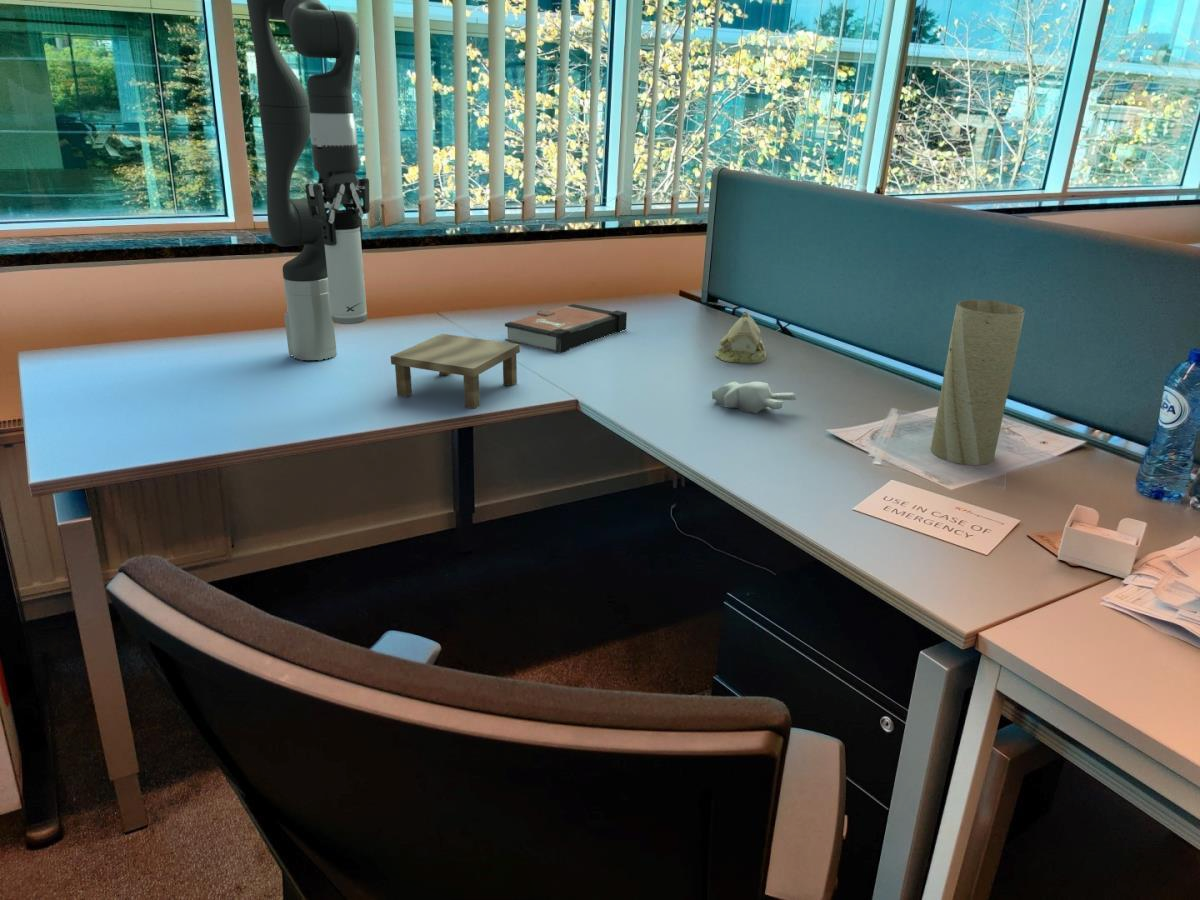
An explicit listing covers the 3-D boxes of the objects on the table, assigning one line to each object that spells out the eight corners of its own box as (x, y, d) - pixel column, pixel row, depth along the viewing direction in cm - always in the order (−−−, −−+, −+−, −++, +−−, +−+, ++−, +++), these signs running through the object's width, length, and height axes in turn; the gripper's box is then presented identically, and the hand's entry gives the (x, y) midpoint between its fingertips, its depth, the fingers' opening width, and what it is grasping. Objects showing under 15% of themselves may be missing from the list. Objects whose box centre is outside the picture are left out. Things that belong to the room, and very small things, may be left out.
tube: (961, 468, 140) (991, 316, 130) (917, 446, 149) (943, 302, 139) (1007, 459, 144) (1040, 311, 134) (962, 438, 152) (989, 297, 143)
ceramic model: (764, 366, 191) (769, 321, 187) (713, 361, 193) (716, 317, 189) (768, 349, 203) (772, 307, 199) (720, 345, 206) (724, 303, 202)
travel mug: (359, 326, 155) (349, 211, 148) (325, 323, 157) (313, 209, 149) (375, 317, 161) (366, 206, 153) (342, 315, 162) (332, 204, 155)
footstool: (393, 396, 167) (390, 356, 164) (443, 370, 182) (441, 333, 179) (475, 410, 161) (473, 368, 158) (520, 382, 176) (519, 344, 173)
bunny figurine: (729, 375, 171) (799, 382, 162) (729, 400, 172) (799, 408, 164) (704, 386, 164) (776, 394, 155) (705, 412, 165) (776, 422, 157)
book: (570, 320, 226) (570, 301, 224) (626, 332, 216) (626, 312, 214) (502, 341, 206) (502, 320, 204) (560, 355, 197) (560, 333, 195)
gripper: (344, 139, 154) (353, 234, 161) (286, 142, 142) (298, 246, 149) (379, 141, 152) (386, 238, 158) (322, 145, 139) (333, 250, 146)
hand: (343, 241), depth 153 cm, fingers closed on travel mug, 6 cm apart
